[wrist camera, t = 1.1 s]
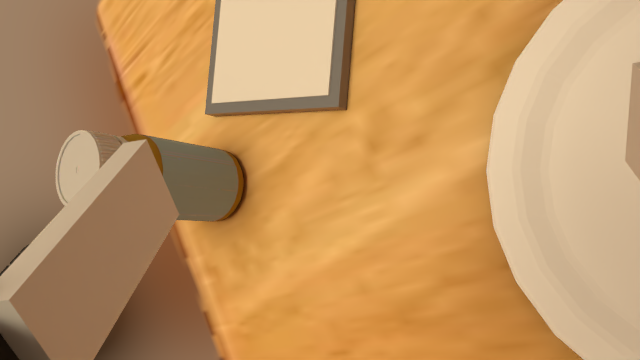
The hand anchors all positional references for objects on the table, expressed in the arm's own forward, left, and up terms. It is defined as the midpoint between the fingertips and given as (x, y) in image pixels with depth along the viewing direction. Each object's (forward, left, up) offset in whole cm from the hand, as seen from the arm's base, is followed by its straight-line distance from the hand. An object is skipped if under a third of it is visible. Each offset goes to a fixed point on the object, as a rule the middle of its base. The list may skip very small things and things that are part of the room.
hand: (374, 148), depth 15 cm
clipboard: (-18, -25, -24) cm, 39 cm away
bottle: (0, -31, -24) cm, 39 cm away
